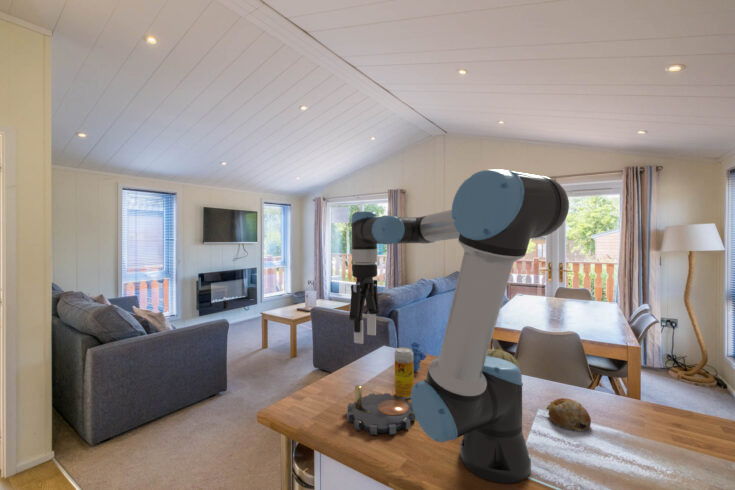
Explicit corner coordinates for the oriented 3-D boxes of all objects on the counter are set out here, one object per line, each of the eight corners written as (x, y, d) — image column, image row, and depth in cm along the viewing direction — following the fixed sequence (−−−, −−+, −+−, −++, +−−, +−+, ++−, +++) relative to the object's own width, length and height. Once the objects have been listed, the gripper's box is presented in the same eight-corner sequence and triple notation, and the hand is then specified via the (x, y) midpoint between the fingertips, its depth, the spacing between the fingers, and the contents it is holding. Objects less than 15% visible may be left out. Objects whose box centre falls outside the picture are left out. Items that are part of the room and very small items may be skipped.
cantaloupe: (476, 403, 105) (476, 355, 105) (471, 383, 120) (470, 341, 119) (527, 406, 102) (527, 357, 102) (515, 386, 117) (515, 342, 117)
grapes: (427, 377, 124) (426, 345, 124) (408, 377, 126) (408, 344, 125) (426, 366, 136) (426, 336, 136) (409, 365, 137) (409, 335, 137)
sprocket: (418, 403, 104) (418, 376, 104) (411, 440, 85) (410, 407, 85) (357, 397, 109) (357, 371, 109) (337, 430, 90) (337, 399, 90)
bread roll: (562, 444, 90) (573, 424, 86) (536, 410, 99) (545, 391, 95) (591, 438, 92) (603, 418, 89) (563, 406, 101) (573, 386, 98)
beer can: (393, 398, 109) (392, 352, 108) (397, 390, 115) (396, 346, 114) (412, 400, 107) (411, 353, 107) (415, 392, 113) (414, 347, 112)
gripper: (368, 261, 113) (368, 328, 113) (335, 265, 93) (336, 347, 94) (389, 261, 110) (389, 331, 110) (360, 266, 90) (361, 350, 91)
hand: (365, 338), depth 102 cm, fingers open, 8 cm apart
